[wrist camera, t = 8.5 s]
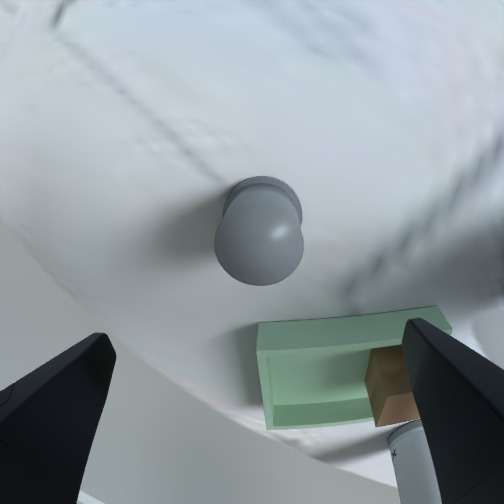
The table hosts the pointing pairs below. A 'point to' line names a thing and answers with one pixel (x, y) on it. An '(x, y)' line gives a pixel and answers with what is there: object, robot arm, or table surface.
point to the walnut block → (389, 387)
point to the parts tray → (326, 365)
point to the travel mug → (413, 465)
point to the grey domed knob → (260, 232)
